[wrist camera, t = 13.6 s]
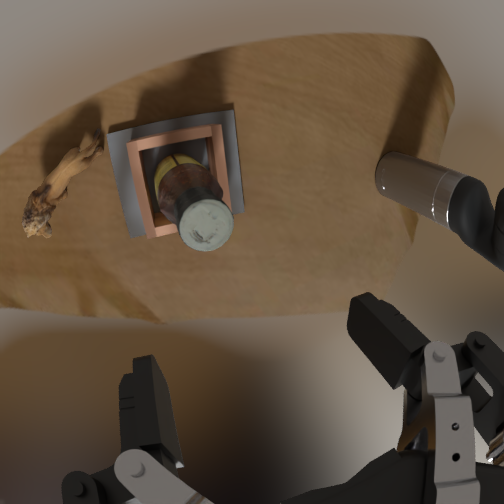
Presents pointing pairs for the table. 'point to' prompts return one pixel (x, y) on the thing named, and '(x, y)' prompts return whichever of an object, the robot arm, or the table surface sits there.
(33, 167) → the table surface
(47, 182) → the lion figurine
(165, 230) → the bottle holder
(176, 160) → the sauce bottle
